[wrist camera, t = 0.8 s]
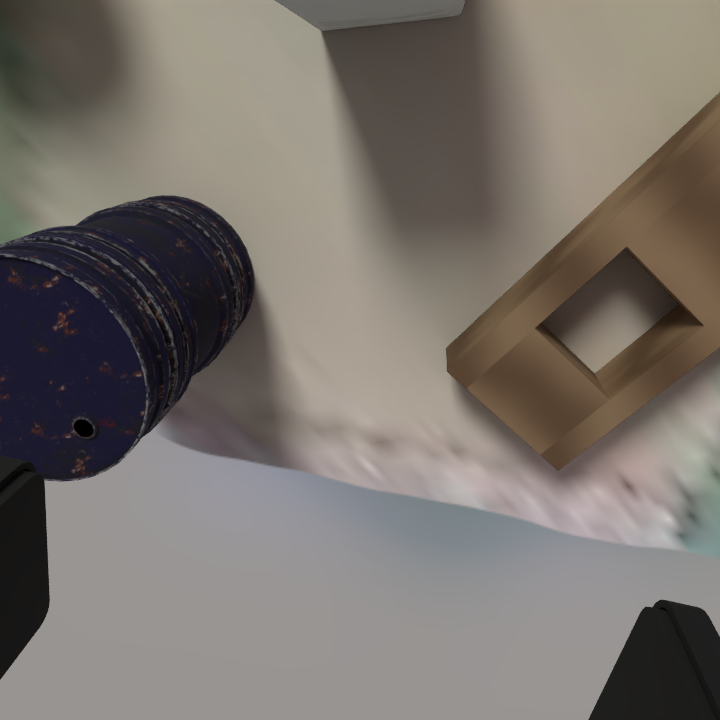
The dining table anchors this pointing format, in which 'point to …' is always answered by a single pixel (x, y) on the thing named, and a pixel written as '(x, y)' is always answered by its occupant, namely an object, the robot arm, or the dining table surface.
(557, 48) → the dining table surface
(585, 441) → the rail
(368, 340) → the dining table surface
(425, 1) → the supplement box
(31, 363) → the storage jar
